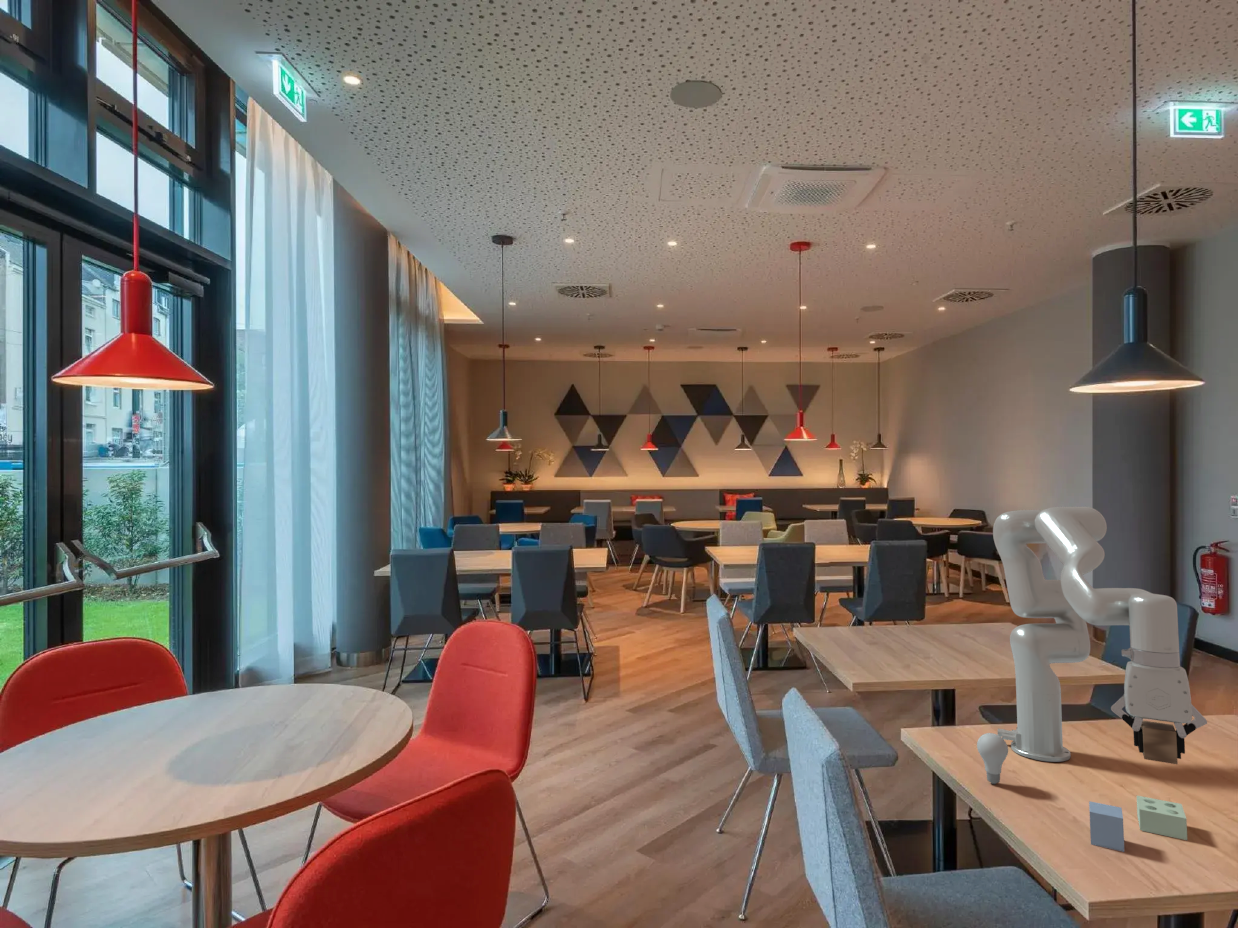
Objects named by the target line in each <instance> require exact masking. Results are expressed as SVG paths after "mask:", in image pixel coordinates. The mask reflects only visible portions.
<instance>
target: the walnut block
mask: <svg viewBox="0 0 1238 928" xmlns="http://www.w3.org/2000/svg"><path fill="white" fill-rule="evenodd" d="M1141 729H1142V732H1143V749H1144V752H1143V753H1142V756H1143V759H1144V760H1148V761H1154V762H1161V763H1166V764H1173V765H1179V764H1178V762H1179V761H1178V758H1177V739H1176V728H1175V725H1174V724H1173V723H1164V722H1156V721H1149V720H1143V721H1142V724H1141Z"/></svg>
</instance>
